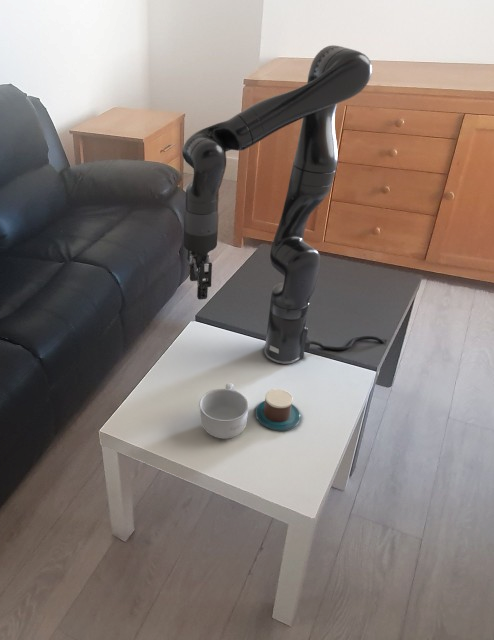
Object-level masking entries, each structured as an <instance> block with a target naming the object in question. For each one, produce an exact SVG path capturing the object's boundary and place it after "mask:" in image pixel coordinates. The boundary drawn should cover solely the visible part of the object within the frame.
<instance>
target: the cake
mask: <svg viewBox="0 0 494 640" xmlns="http://www.w3.org/2000/svg"><path fill="white" fill-rule="evenodd" d="M264 396H265V397H264V401H265V404H264V415H265V417H266V418H267V419H269V420H271V421H274V422H284V421H286V420H288V419H289V417H290V412H291V406H292V405H293V396H292V394H291V393H290V392H289V391H287V390H284V389H281V388H273V389H270V390H268V391H267V392H266V394H265V395H264Z"/></svg>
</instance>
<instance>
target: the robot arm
mask: <svg viewBox="0 0 494 640" xmlns="http://www.w3.org/2000/svg"><path fill="white" fill-rule="evenodd" d="M372 71H373V67H372V62H371V60H370V58H369V57H368V56H367V55H366V54H365V53H362V52H361V51H359V50H356V49H352V48H348V47H344V46H342V45H341V46H340V45H334V44H333V45H332V44H331V45H327V46H325V47H323V48H322V49H321V50H319V51H318V52H317V54H316V55H315V56H314V58H313V60H312V61H311V64H310V67H309V70H308V74H307V80H306V84H304V85H302V86H300V87H297V88H295V89H292V90H289V91H287V92H283V93H281V94H277V95H274V96H272V97H268V98H265V99H262V100H260V101H258V102H256V103H253V104H252V105H250V106H249V107H247V108H245V109H243V110H242V111H241V112H238V113H237V114H235V115H234V116H232V117H231V118H229V119H227V120H224V121H221V122H218V123H215V124H212V125H209V126H207V127H205V128H202V129H199V130H198V131H196V132H195V133H193V134H192V135H190V136H189V137H188V138H187V139H186V140H185V142H184V144H183V146H182V150H181V151H182V152H181V153H182V158H183V160H184V161H185V162H186V164H187V165H189V166H190V167H191V168H192V169H193V177H192V180H191V181H189V182H188V184H187V185H186V190H185V207H184V209H185V210H184V216H183V241H182V242H183V243H182V244H183V247H184V248H185V250H187V260H188V265H189V280H190V282H197V283H196V284H197V289H196V290H197V292H196V293H197V295H196V298H197V299H198V300H207V298H208V290H209V288H212V278H213V277H212V276H213V275H212V274H213V273H212V272H213V263H212V262H211V256H210V254H209V253H210V252H211V251H213V250H215V249H216V248H217V246H218V236H219V220H220V219H219V216H220V215H219V199H220V189H221V186H222V183H223V179H224V176H225V172H226V169H227V153H226V152H229V151H239V152H242V151H245V150H247V149H249V148H251V147H253V146H254V145H256V144H257V143H259V142H261V141H262V140H264V139H266V138H267V137H270V136H271V135H272V134H274V133H276V132H278V131H280V130H281V129H283V128H285V127H287V126H290V125H291V124H293V123H295V122H298V121H299V120H302V121H301V125H300V130H299V135H298V141H297V146H296V150H295V155H294V158H293V162H292V167H291V171H290V176H289V182H288V187H287V191H286V196H285V200H284V203H283V209H282V212H281V217H280V219H279V222H278V226H277V229H276V232H275V235H274V238H273V240H272V244H271V248H270V252H269V262H270V264H271V265H272V267H273V268H274V269H275V270H276V271H277V272H278V273H279V274H281V275H282V276H284V280H283V281H282V282H278V283H276V284H275V285H274V286H273V287H272V290H271V295H270V303H269V312H268V321H267V329H266V337H265V345H264V355H265V357H266V358H267V359H268V360H270V361H271V362H274V363H276V364H282V365H290V364H294V363H296V362H298V361H299V360H302V359H304V356H305V353H306V352H310V347H311V345H316V346H318V347H320V348H322V349H325V350H329V351H346V350H348V349H350V348H351V347H352V346H353V345H354V343H356V342H358V341H363V340H374V341H378V342H379V343H381V344H386V342H385V340H384V339H383V338H381V337H380V336H379V337H378V336H375V335H363V336H357V337H354V338H352V339H351V340H350V341H349V343H348V344H347V345H345V346H331V345H325V344H323V343H322V342H320V341H317V340H310V339H309V338H308V331H309V330H308V327H307V317H308V310H309V305H310V299H311V297H312V296H313V294H314V292H315V289H316V286H317V281H318V277H319V276H318V275H319V272H320V268H321V255H320V252H319V251H318V250H317V249H316V248H314V247H313V246H311V245H310V244H308V243H307V242H306V241H304V235H305V230H306V228H307V227H306V226H307V223H308V221H309V218H310V216H311V215H312V213H313V212H314V211H315V210H316V209H317V208H318V207H319V206H320V205H321V204H322V202H324V200H325V199H326V198H327V197H328V195H329V193H330V192H331V189H332V187H333V182H334V179H335V175H336V172H337V167H338V162H339V151H338V142H337V134H336V127H335V123H336V122H335V120H336V112H337V108H338V104H339V103H342V102H345V101H347V100H349V99H352V98H354V97H355V96H357V95H358V94H360V93H361V92H362V91H363V90H364V89H365V88H366V86H368V84H369V81H370V80H371V77H372V73H373V72H372ZM204 279H205V280H204Z"/></svg>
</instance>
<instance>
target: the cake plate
mask: <svg viewBox="0 0 494 640" xmlns="http://www.w3.org/2000/svg"><path fill="white" fill-rule="evenodd" d="M264 404H265V400H264V401H262V402H260V403H259V404H258V405H257V407H256V408H255V417H256V420H257V421H258V422H259V423H260V424H261V425H262V426H263V427H265V428H267V429H270V430H272V431H278V432H285V431H291V430H292V429H295V428H296V427H297V426H298V424H299V423H300V421H301V413H300V411H299V409H298V408H297V407H296V406H295V405H294V404H292V406H291V412H290V417H289V419H288V420H286V421H284V422H274V421H271V420H269V419H267V418H266V417H265V415H264Z"/></svg>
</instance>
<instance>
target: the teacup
mask: <svg viewBox="0 0 494 640" xmlns="http://www.w3.org/2000/svg"><path fill="white" fill-rule="evenodd" d="M198 403H199V404H198V405H199V410H200V411H199V414H200V415H199V417H200V422H201V425H202V427H203V429H204V430H205V431H206V432H207V434H209V435H210V436H212V437H215V438H217V439H232V438H235V437H237V436H239V435H241V433H242V432H243V431H244V430H245V428H246V426H247V422H248V415H249V414H248V413H249V412H248V411H249V401H248V399H247V398H246V397H245V396H244V395H243V394H242V393H241V392H238V391H237V390H234V384H233V383H230V382H228V383H226V385H225V388H216V389H212V390H209V391H207V392H206V393H204V394H203V395H202V396H201V398H200V399H199V402H198Z"/></svg>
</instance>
